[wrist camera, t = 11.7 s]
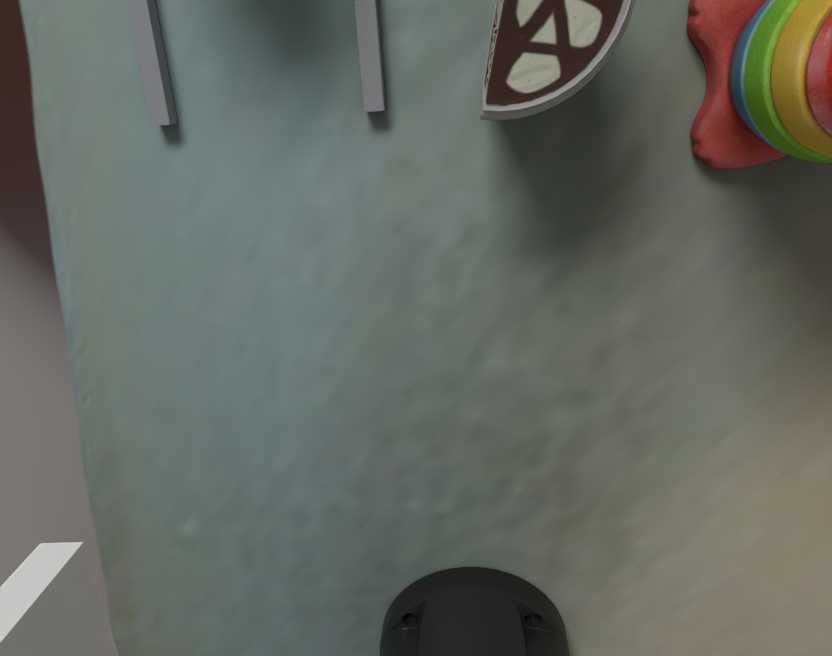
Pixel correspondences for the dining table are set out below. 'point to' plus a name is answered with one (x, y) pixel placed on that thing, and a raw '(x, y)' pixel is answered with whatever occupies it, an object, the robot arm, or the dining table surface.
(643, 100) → the dining table surface
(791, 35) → the stacking bear
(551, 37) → the food container
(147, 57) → the guide channel
